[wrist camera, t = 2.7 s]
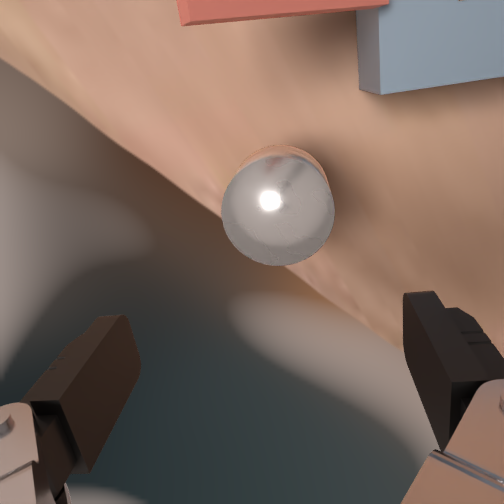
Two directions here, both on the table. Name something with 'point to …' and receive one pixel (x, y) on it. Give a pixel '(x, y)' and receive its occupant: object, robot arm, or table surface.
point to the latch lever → (263, 9)
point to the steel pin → (278, 206)
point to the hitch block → (429, 44)
